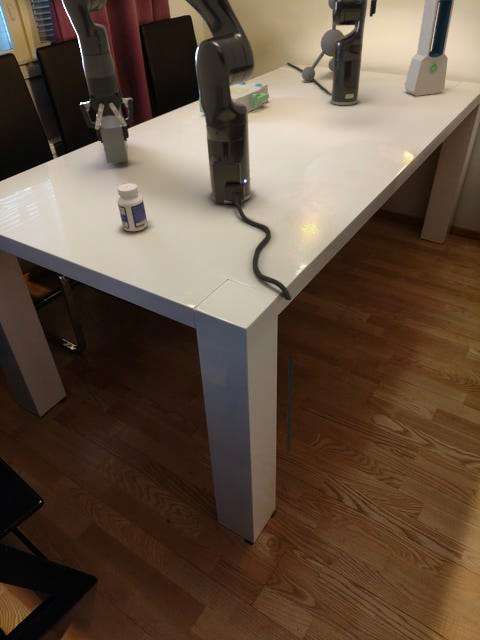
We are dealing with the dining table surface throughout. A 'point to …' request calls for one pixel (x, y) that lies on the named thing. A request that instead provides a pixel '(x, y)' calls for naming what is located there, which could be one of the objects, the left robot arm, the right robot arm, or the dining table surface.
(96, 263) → the dining table surface
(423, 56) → the electronic device
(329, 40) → the molecular model
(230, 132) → the left robot arm
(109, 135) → the bar
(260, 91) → the decorative block
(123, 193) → the pill bottle
